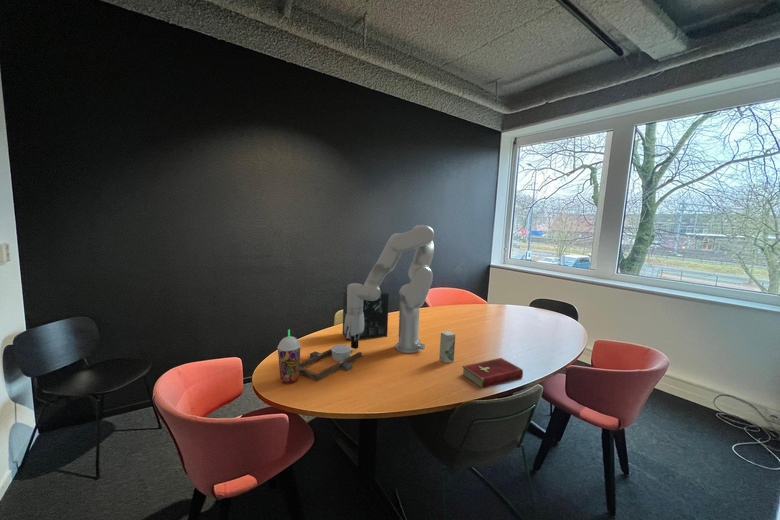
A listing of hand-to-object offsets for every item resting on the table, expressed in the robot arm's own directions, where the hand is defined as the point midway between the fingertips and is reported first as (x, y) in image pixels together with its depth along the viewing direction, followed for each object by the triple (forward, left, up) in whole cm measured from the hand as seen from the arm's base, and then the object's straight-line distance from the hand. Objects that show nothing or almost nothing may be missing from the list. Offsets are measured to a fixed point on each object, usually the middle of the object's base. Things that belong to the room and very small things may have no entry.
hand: (354, 347), depth 152 cm
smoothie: (+2, +36, -2) cm, 36 cm away
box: (-40, -16, -2) cm, 43 cm away
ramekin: (0, +9, -2) cm, 10 cm away
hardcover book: (-61, -13, -2) cm, 62 cm away
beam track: (0, +16, -1) cm, 16 cm away
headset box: (+9, -20, -2) cm, 22 cm away
